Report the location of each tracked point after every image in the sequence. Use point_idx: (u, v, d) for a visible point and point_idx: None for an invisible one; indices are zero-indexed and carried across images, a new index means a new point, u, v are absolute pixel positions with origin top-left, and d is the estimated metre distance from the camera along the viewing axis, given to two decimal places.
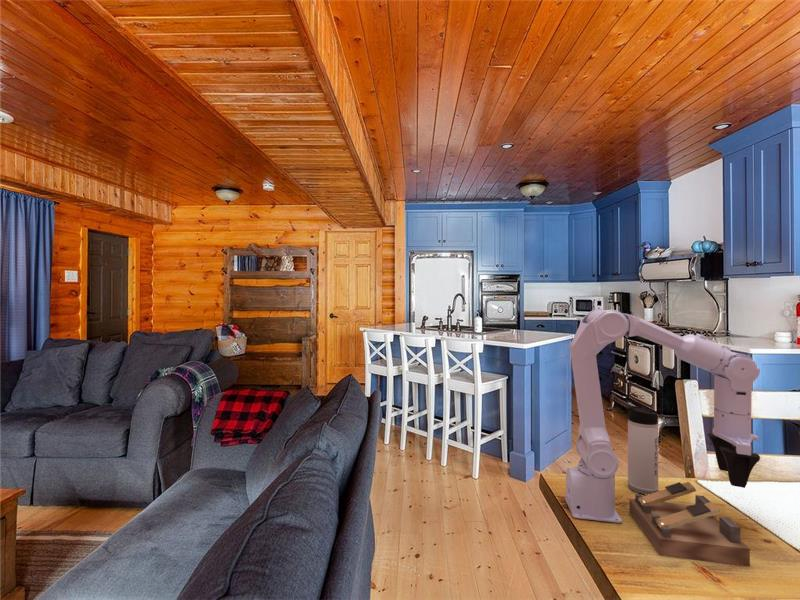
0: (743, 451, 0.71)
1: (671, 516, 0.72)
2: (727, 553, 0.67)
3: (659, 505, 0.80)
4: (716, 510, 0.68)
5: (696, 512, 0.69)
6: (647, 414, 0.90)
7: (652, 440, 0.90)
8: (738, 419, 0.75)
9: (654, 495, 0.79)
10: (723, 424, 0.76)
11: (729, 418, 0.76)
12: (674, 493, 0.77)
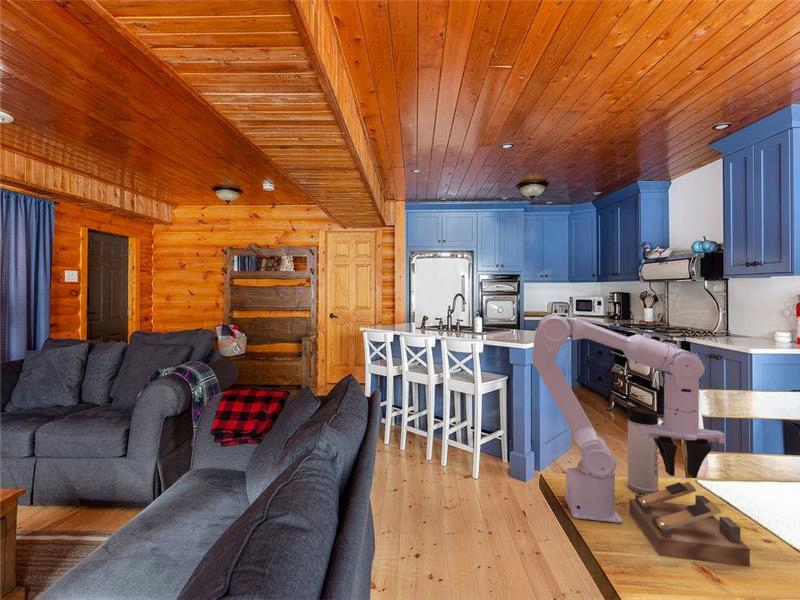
0: (641, 433, 0.79)
1: (671, 516, 0.72)
2: (727, 553, 0.67)
3: (659, 505, 0.80)
4: (716, 510, 0.68)
5: (696, 512, 0.69)
6: (647, 414, 0.90)
7: (652, 440, 0.90)
8: (666, 412, 0.78)
9: (654, 495, 0.79)
10: None
11: (664, 410, 0.79)
12: (674, 493, 0.77)
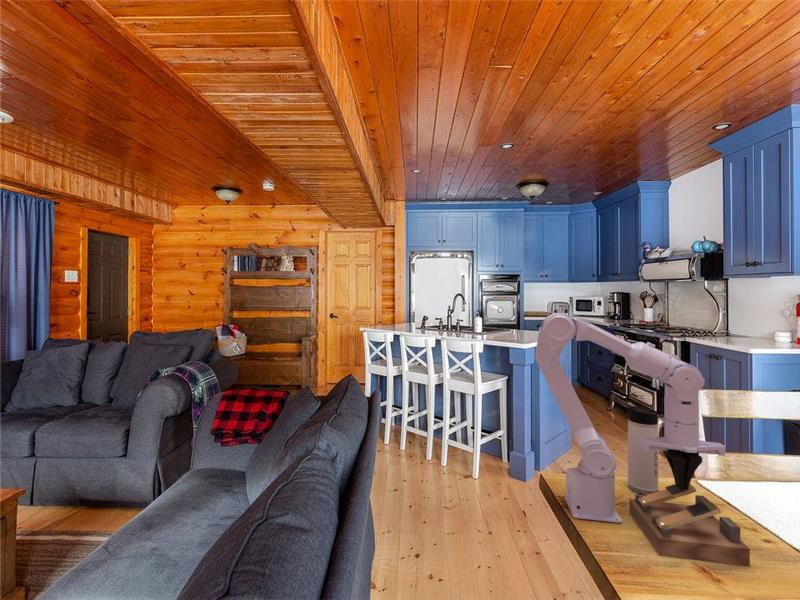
0: (641, 445, 0.79)
1: (671, 516, 0.72)
2: (727, 553, 0.67)
3: (659, 505, 0.80)
4: (716, 510, 0.68)
5: (696, 512, 0.69)
6: (647, 414, 0.90)
7: None
8: (666, 424, 0.78)
9: (654, 495, 0.79)
10: None
11: (664, 422, 0.79)
12: (674, 493, 0.77)
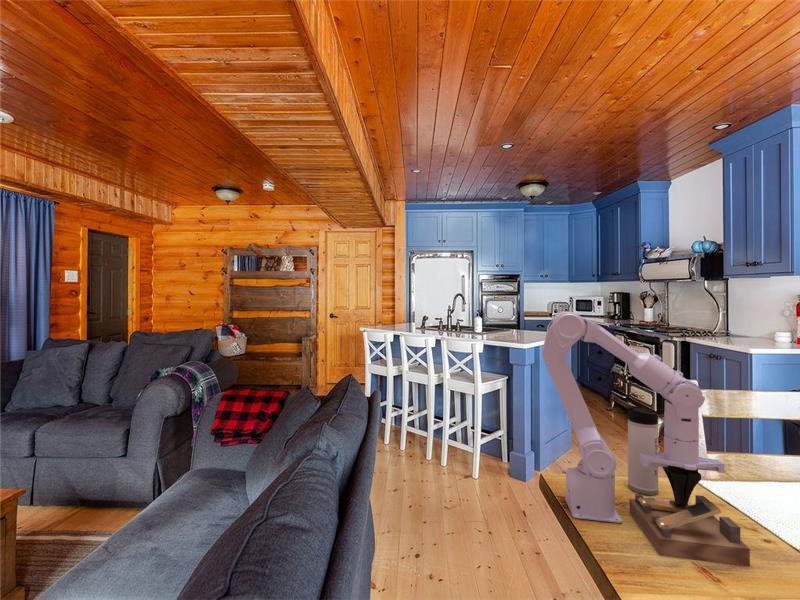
0: (641, 461, 0.79)
1: (671, 516, 0.72)
2: (727, 553, 0.67)
3: None
4: (716, 510, 0.68)
5: (696, 512, 0.69)
6: (647, 414, 0.90)
7: (652, 440, 0.90)
8: (666, 440, 0.78)
9: (656, 501, 0.79)
10: None
11: (664, 438, 0.79)
12: (678, 508, 0.77)
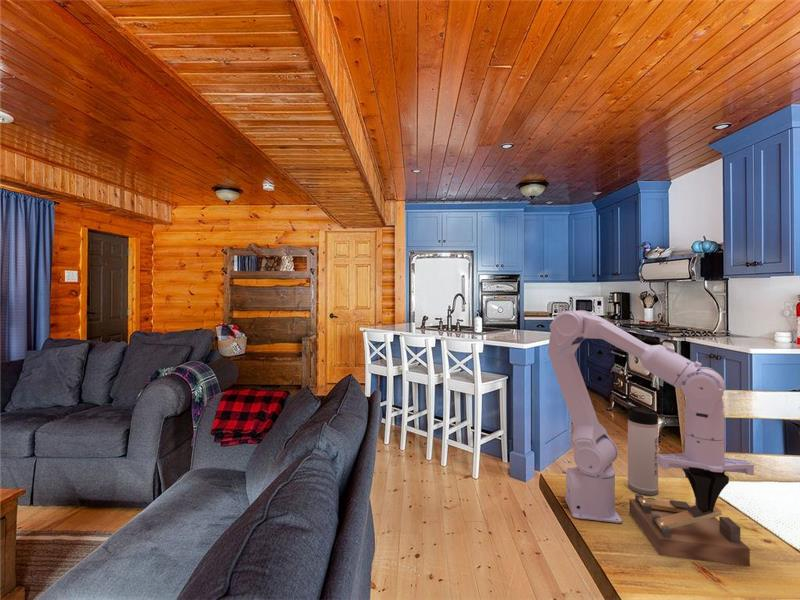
0: (660, 462, 0.72)
1: (672, 516, 0.72)
2: (727, 553, 0.67)
3: None
4: (717, 512, 0.68)
5: (697, 513, 0.69)
6: (647, 414, 0.90)
7: (652, 440, 0.90)
8: (687, 439, 0.70)
9: (656, 501, 0.79)
10: None
11: None
12: (678, 508, 0.77)
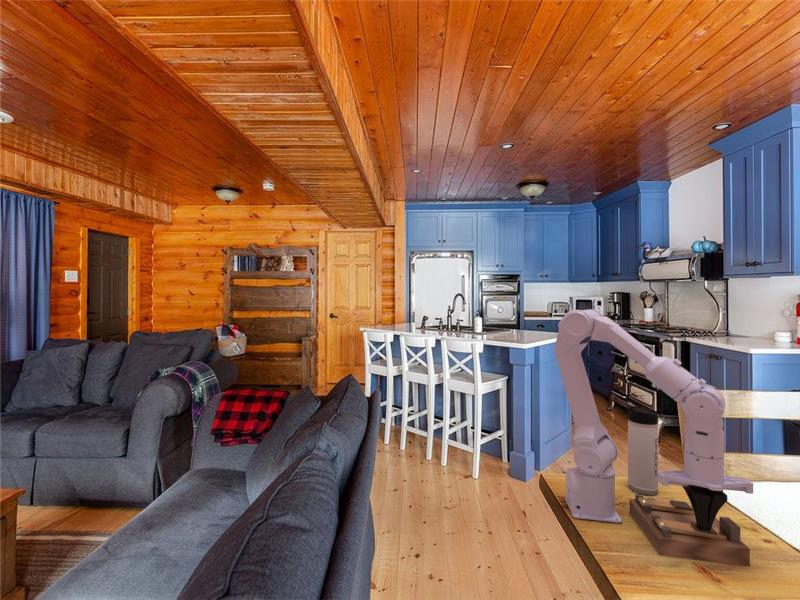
0: (659, 479, 0.72)
1: (674, 522, 0.71)
2: (727, 553, 0.67)
3: None
4: (722, 536, 0.68)
5: (702, 529, 0.69)
6: (647, 414, 0.90)
7: (652, 440, 0.90)
8: (687, 456, 0.70)
9: (656, 501, 0.79)
10: None
11: (684, 454, 0.72)
12: (678, 508, 0.77)
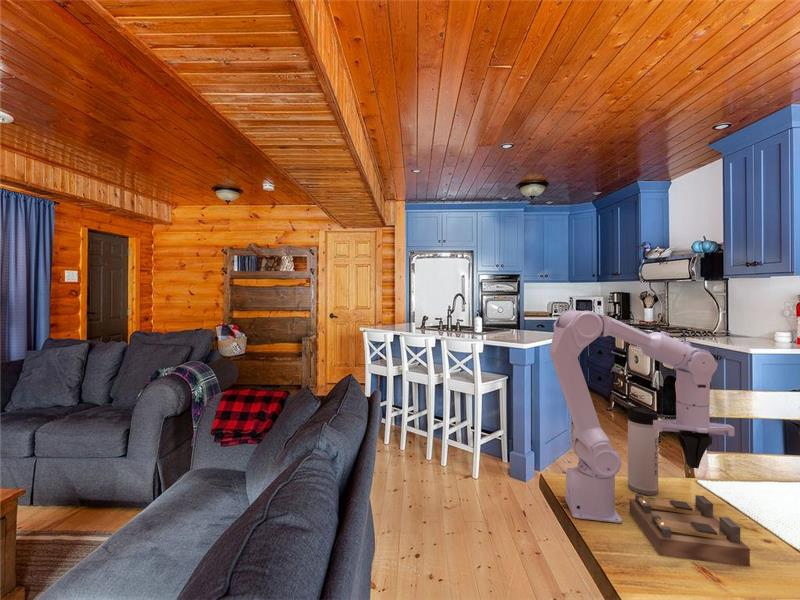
0: (654, 427, 0.83)
1: (674, 522, 0.71)
2: (727, 553, 0.67)
3: None
4: (722, 536, 0.68)
5: (702, 529, 0.69)
6: (647, 414, 0.90)
7: (652, 440, 0.90)
8: (678, 406, 0.82)
9: (656, 501, 0.79)
10: None
11: (676, 405, 0.83)
12: (678, 508, 0.77)
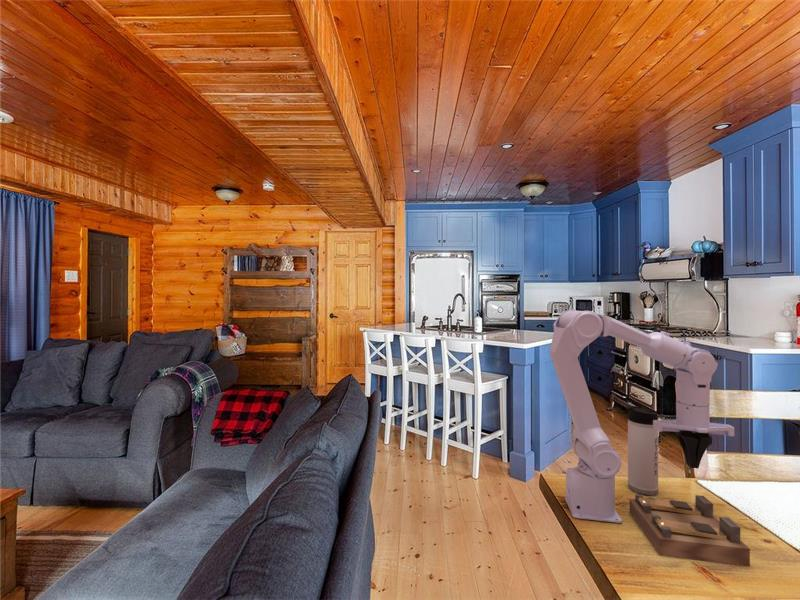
0: (654, 427, 0.83)
1: (674, 522, 0.71)
2: (727, 553, 0.67)
3: None
4: (722, 536, 0.68)
5: (702, 529, 0.69)
6: (647, 414, 0.90)
7: (652, 440, 0.90)
8: (678, 406, 0.82)
9: (656, 501, 0.79)
10: None
11: (676, 405, 0.83)
12: (678, 508, 0.77)
